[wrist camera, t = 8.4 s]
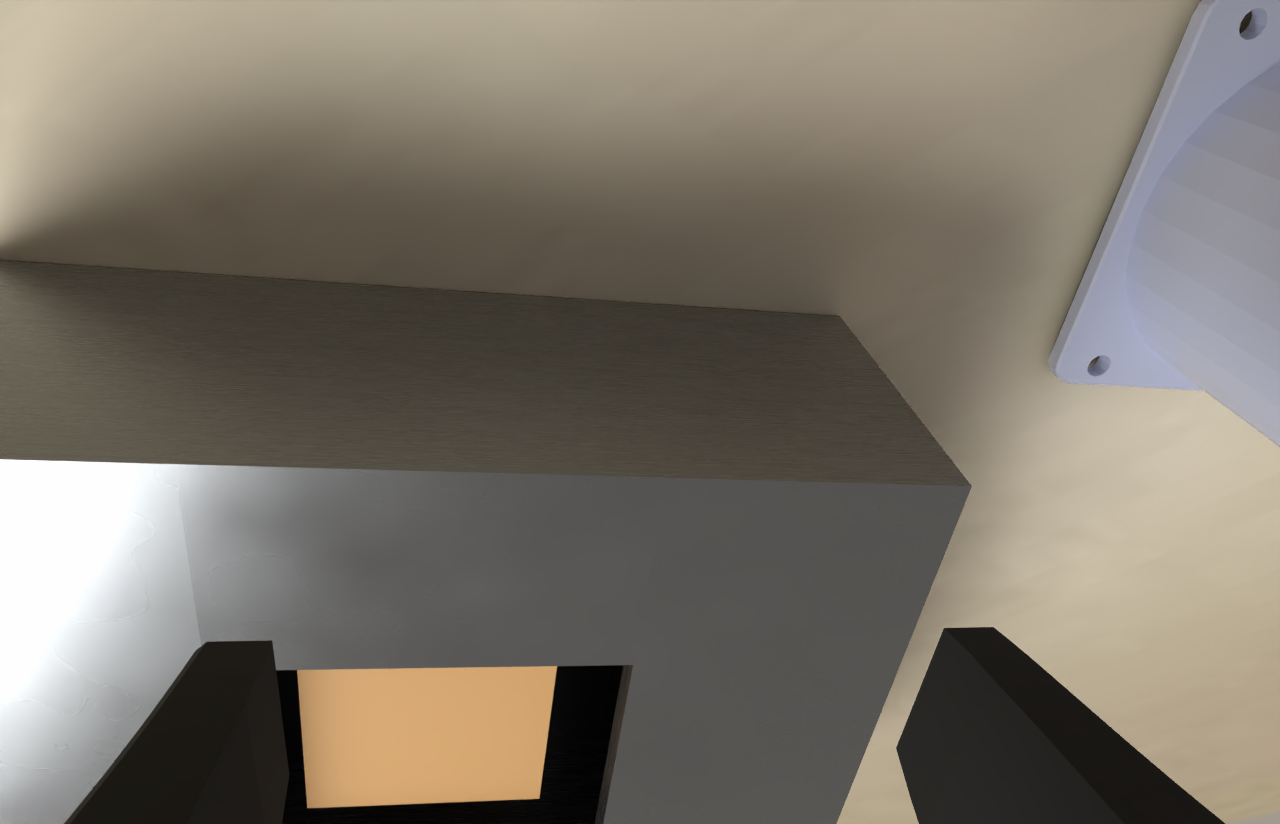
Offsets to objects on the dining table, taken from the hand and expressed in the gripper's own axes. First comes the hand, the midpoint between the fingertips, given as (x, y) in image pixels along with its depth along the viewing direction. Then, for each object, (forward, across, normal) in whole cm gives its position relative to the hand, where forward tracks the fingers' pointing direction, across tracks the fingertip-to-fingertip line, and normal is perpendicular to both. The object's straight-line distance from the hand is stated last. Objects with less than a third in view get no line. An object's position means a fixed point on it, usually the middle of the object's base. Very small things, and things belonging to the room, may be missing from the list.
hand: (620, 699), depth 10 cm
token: (+9, +2, +6) cm, 11 cm away
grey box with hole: (+10, +2, +6) cm, 12 cm away
